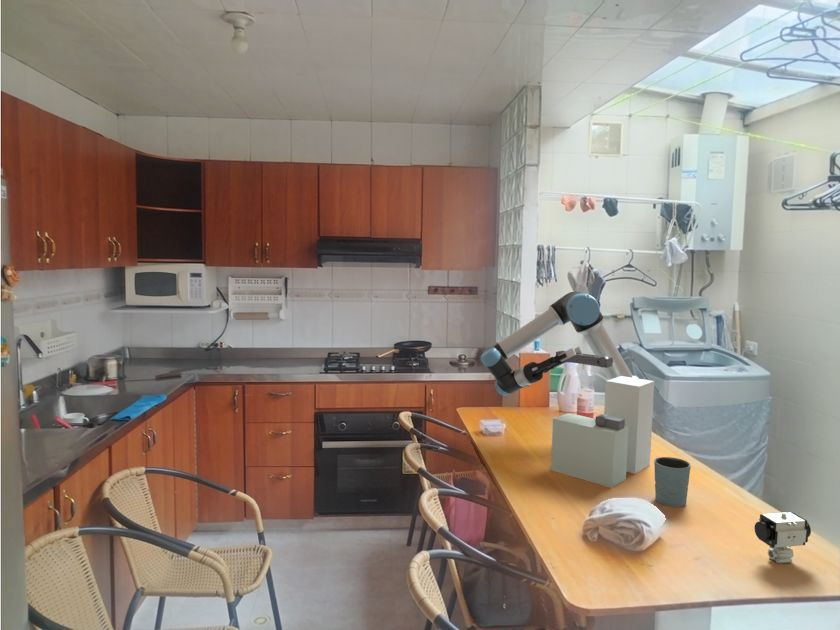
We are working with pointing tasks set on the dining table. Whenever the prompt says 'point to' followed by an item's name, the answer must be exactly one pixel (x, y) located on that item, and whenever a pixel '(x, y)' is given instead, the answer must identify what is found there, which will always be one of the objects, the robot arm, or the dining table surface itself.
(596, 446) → the grey-green rectangular block
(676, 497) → the blue-grey cup
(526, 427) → the dining table surface
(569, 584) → the dining table surface
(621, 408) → the taupe rectangular block
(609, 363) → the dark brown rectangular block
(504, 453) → the dining table surface
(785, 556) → the pneumatic valve
